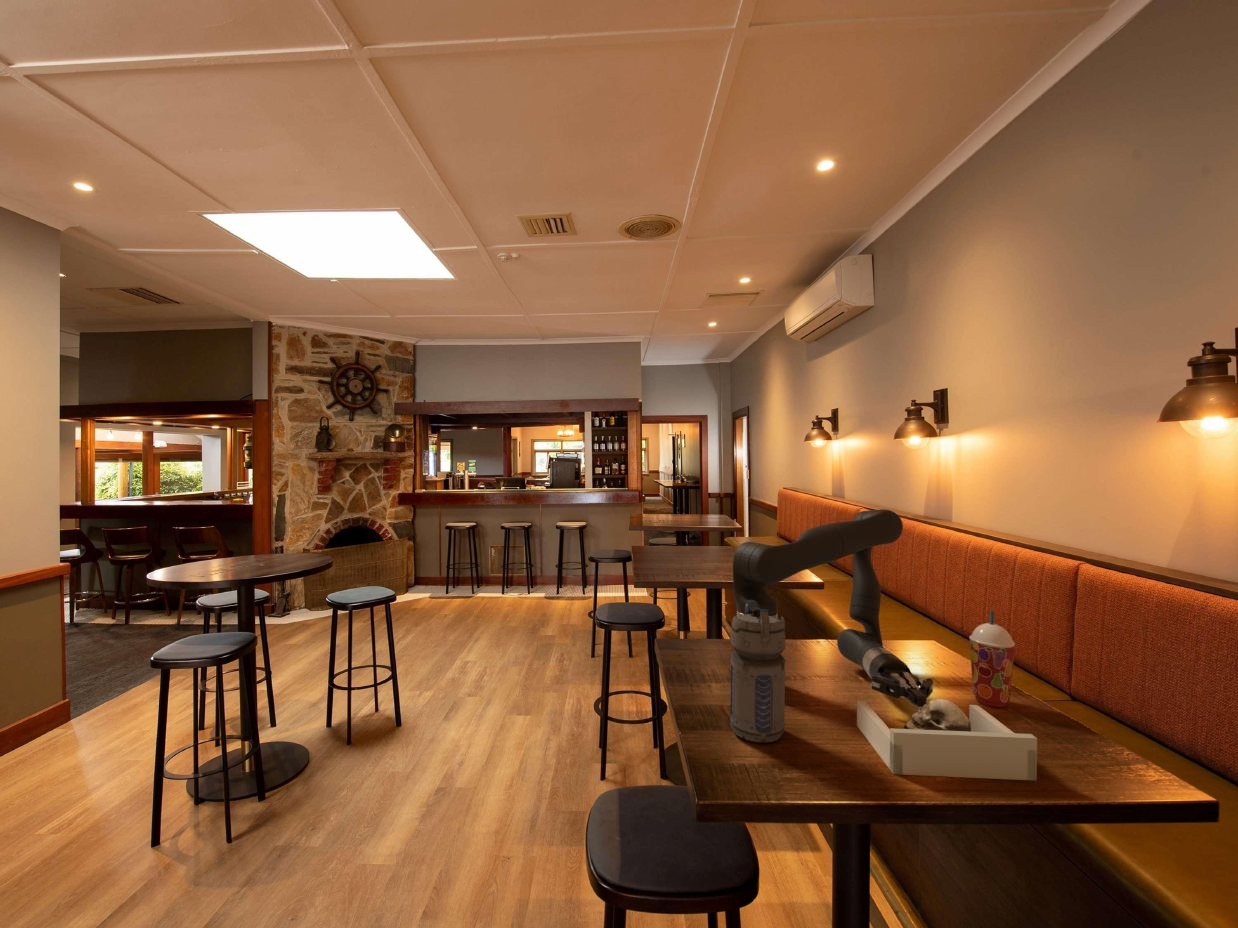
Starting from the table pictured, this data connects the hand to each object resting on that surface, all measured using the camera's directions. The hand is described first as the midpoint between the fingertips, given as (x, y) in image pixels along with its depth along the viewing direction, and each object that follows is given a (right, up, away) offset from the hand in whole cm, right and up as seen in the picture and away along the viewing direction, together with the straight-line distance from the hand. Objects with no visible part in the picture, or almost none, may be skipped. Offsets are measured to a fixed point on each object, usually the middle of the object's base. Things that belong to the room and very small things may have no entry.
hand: (921, 701), depth 110 cm
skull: (+2, -6, -2) cm, 7 cm away
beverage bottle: (-32, -6, 0) cm, 33 cm away
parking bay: (0, -6, -6) cm, 8 cm away
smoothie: (+23, -6, +14) cm, 28 cm away
